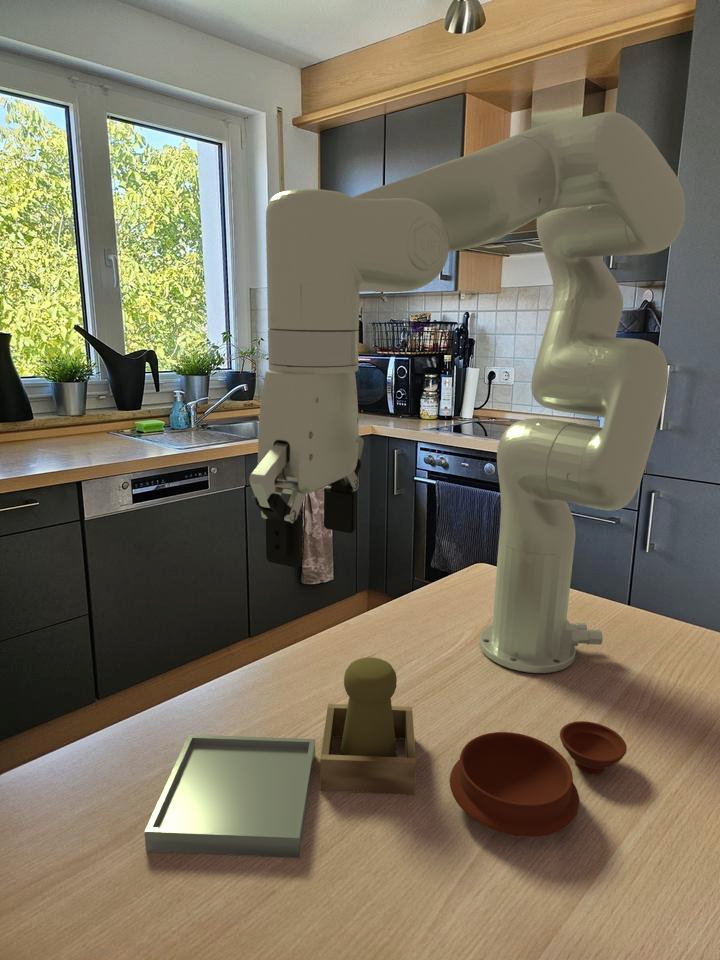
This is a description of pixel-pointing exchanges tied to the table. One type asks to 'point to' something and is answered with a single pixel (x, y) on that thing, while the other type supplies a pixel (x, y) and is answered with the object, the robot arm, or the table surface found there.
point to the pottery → (530, 777)
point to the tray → (235, 797)
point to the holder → (368, 759)
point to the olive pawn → (369, 709)
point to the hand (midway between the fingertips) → (313, 545)
